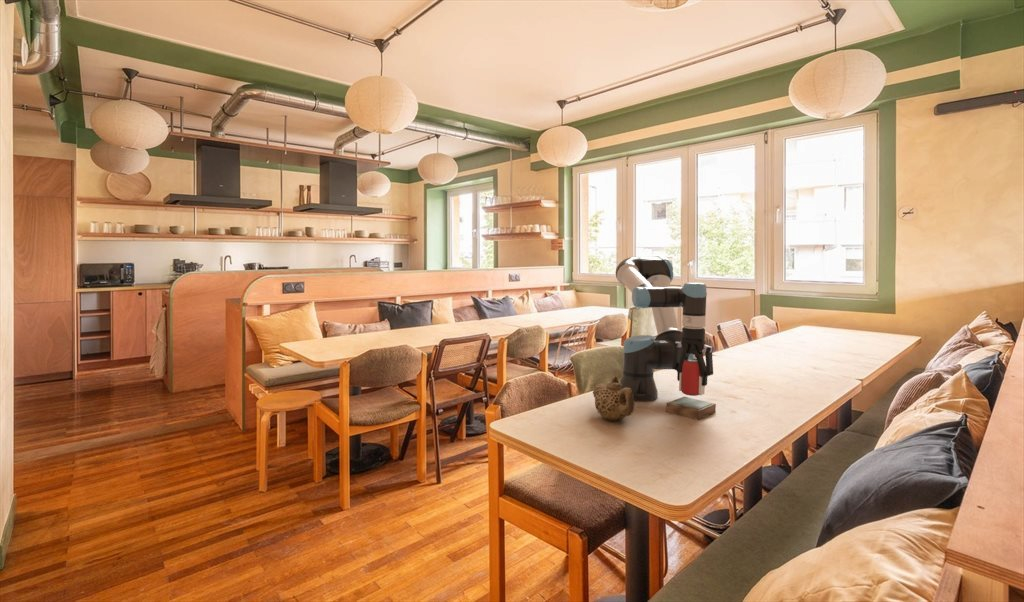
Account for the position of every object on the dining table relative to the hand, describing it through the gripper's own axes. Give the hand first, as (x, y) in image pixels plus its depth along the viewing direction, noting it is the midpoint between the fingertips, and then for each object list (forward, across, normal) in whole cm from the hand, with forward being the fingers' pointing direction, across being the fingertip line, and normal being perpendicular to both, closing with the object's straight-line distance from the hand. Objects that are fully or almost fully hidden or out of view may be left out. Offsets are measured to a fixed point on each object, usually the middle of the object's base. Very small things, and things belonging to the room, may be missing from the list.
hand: (691, 392), depth 173 cm
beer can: (+1, 0, 0) cm, 1 cm away
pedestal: (+7, 0, 0) cm, 7 cm away
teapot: (+7, -13, -27) cm, 31 cm away
